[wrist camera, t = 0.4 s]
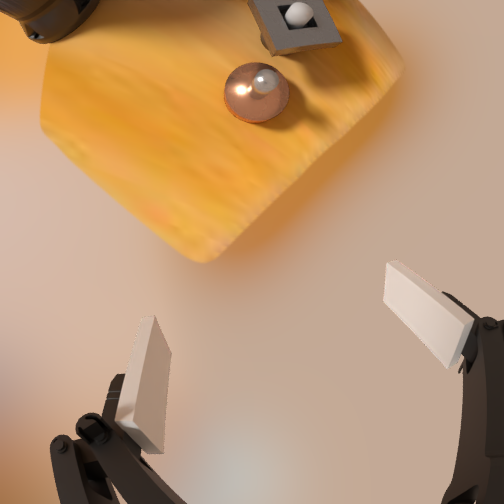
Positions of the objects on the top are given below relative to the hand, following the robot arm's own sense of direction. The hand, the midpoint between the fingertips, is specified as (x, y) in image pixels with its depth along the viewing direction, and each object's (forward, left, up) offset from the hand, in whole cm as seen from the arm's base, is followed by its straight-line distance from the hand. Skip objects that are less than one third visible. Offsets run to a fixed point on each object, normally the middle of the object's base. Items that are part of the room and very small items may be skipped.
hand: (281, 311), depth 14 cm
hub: (-14, +8, -27) cm, 31 cm away
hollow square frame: (-22, +15, -21) cm, 34 cm away
